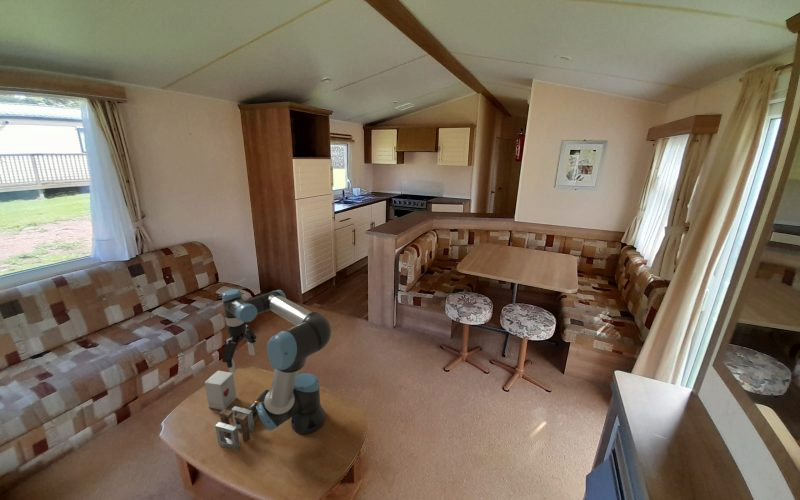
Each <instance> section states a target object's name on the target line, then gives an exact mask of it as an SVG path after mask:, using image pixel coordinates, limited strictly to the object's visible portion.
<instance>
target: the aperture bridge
mask: <svg viewBox="0 0 800 500" xmlns="http://www.w3.org/2000/svg"><path fill="white" fill-rule="evenodd" d="M232 415H233V411H232V410H229V409H227V408H226V409H223V410H220V412H219V417H220V420H221V423H225V424H228V425H231V422H230V418H231V417H233V416H232ZM247 418H248V416H247V415H245V414H241V413H238V414H237V415H236V416H235V417H234V419H235V420H237V421H240V424H241V430H240V431H241V434H242V435H241V437H242V441H243V442H245V443H248V442H249V441H250V440H251V433H250V432H249V425H248V419H247ZM223 432H224V431H223ZM229 436H231V433H228V432H224V437H226V438H228V437H229Z"/></svg>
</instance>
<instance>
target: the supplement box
mask: <svg viewBox="0 0 800 500" xmlns="http://www.w3.org/2000/svg"><path fill="white" fill-rule="evenodd" d="M204 387H205V393H206V394H205V395H206V398H207V405H208V408H210V409H216V410H220V411H222V410H223V409H226V410H227V409H228V407H230V406H231V404H233V402H234V401H235V400H236V399H237V390H236V384H235V378H234V373H230V372H229V371H222V370H216V372H214V373H213V374H212V375H211V376H209V378H208V379H207V380H205V381H204Z"/></svg>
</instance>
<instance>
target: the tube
mask: <svg viewBox="0 0 800 500" xmlns="http://www.w3.org/2000/svg"><path fill="white" fill-rule="evenodd" d="M269 391H270V390H269V389H265V390H264V391H263V392H262V393H261V394H260V395H259V396H258V397H257V399H255V400H254V401H253V402H252V403H251V405H250V406H249V407H248V408H247V409H248V410H252V414H253V415H254V414H255V413H256V412H257V405H258V404H260V403H261V402H263V401H264V400H265V396H266V395H267V393H268V392H269Z"/></svg>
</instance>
